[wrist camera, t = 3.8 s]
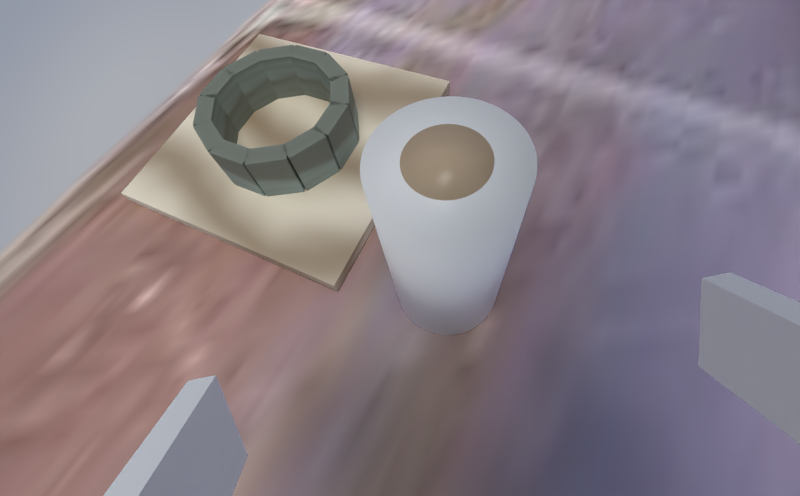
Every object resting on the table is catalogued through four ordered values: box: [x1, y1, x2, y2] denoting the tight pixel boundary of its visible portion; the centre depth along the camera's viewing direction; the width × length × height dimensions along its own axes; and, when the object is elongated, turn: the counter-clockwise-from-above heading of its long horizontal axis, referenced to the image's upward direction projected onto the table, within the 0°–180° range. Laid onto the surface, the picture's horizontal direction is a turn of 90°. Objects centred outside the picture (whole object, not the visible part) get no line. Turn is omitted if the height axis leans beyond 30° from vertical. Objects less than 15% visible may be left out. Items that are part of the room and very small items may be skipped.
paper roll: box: [360, 96, 538, 335], centre depth 19 cm, size 6×6×12 cm
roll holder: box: [121, 34, 450, 291], centre depth 29 cm, size 18×18×4 cm
